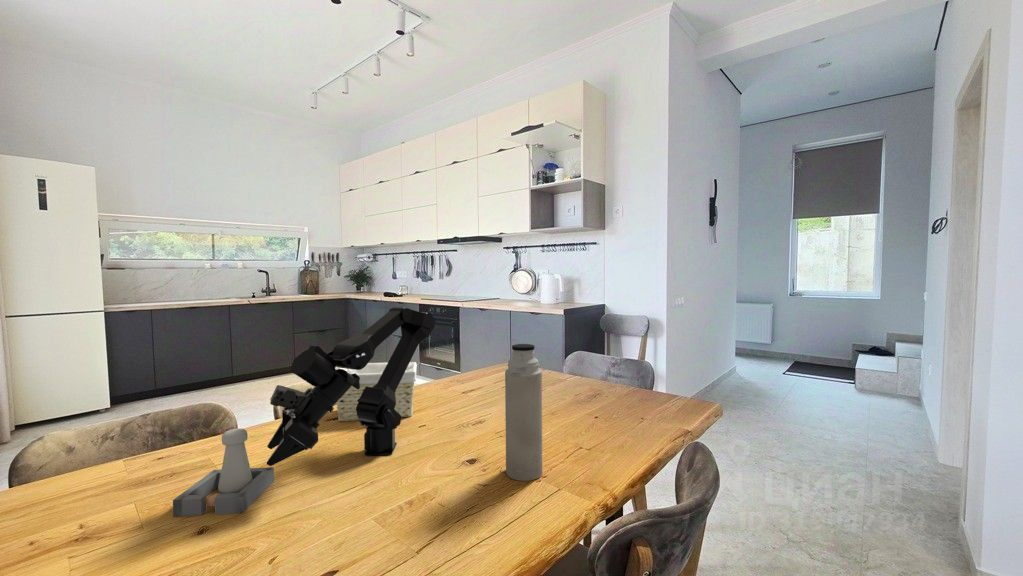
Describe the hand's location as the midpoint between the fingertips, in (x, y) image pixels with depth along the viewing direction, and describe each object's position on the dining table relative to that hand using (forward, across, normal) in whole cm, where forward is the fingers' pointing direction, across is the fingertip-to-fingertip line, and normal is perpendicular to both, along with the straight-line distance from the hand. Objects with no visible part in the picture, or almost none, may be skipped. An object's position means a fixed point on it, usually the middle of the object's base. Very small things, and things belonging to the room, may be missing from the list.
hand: (268, 455), depth 86 cm
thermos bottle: (-29, +20, +39) cm, 53 cm away
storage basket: (-16, -38, +26) cm, 48 cm away
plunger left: (+10, +4, -2) cm, 11 cm away
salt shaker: (+9, 0, +1) cm, 9 cm away
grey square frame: (+10, 0, 0) cm, 10 cm away
